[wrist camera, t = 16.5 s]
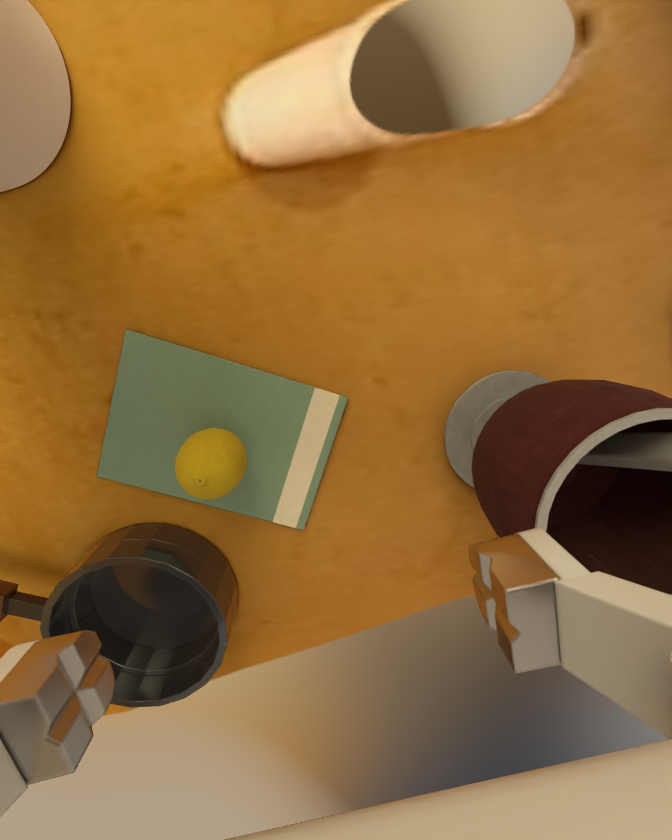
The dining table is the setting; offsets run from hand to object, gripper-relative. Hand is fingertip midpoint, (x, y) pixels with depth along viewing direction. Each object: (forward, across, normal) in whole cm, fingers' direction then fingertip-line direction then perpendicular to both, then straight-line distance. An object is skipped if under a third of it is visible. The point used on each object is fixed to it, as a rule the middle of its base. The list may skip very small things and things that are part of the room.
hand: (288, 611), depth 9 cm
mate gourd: (+29, -18, +8) cm, 36 cm away
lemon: (+29, +9, +4) cm, 30 cm away
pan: (+29, +19, +18) cm, 39 cm away
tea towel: (+29, +9, +3) cm, 31 cm away
